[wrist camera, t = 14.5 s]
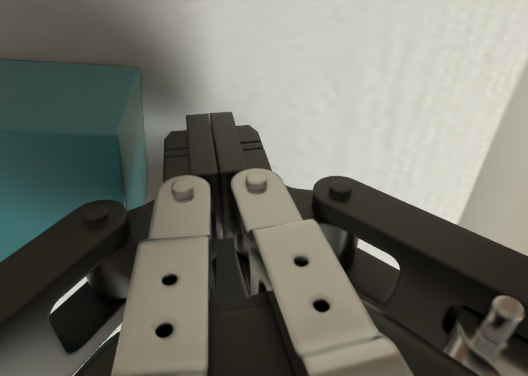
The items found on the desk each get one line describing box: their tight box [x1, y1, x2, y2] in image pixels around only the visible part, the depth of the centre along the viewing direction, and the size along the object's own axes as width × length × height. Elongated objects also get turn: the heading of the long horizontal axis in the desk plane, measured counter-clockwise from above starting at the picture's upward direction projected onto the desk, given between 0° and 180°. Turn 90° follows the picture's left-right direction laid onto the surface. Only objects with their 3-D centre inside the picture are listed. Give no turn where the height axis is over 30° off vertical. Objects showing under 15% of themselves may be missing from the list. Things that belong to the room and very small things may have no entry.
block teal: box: [0, 59, 148, 262], centre depth 12 cm, size 4×4×4 cm
